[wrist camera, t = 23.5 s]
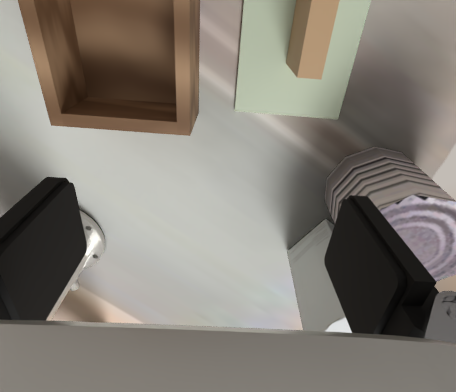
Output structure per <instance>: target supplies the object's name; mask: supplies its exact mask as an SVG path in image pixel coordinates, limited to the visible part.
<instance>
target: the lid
mask: <svg viewBox="0 0 456 392" xmlns="http://www.w3.org/2000/svg"><path fill="white" fill-rule="evenodd" d="M370 3H371V0H244V5H243V17H242V29H241V41H240V53H239V65H238V77H237V88H236V100H235V111H238V112H251V113H263V114H275V115H288V116H300V117H313V118H325V119H337V120H338V117H339V114H340V110H341V107H342V103H343V99H344V96H345V92H346V89H347V85H348V81H349V78H350V74H351V71H352V67H353V64H354V60H355V56H356V53H357V49H358V46H359V42H360V38H361V35H362V31H363V28H364V24H365V21H366V17H367V13H368V10H369V6H370Z"/></svg>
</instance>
